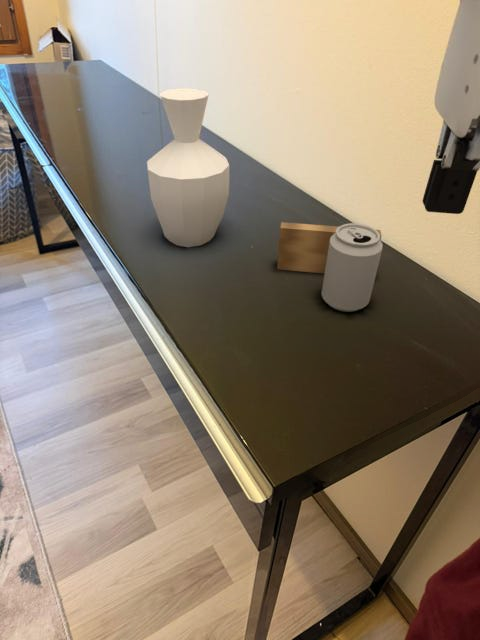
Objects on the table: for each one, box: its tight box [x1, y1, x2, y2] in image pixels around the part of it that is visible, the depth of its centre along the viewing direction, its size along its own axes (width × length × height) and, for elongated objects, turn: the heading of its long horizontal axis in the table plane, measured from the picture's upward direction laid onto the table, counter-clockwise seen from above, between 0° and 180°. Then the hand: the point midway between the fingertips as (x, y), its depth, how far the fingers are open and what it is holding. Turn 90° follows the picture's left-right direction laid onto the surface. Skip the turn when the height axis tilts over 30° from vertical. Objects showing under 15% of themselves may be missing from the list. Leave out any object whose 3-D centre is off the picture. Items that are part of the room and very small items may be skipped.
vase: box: [146, 87, 230, 248], centre depth 79 cm, size 14×14×25 cm
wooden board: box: [276, 221, 382, 274], centre depth 76 cm, size 16×2×8 cm, turn 82°
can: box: [321, 222, 384, 313], centre depth 68 cm, size 8×8×12 cm
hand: (441, 208), depth 40 cm, fingers closed
